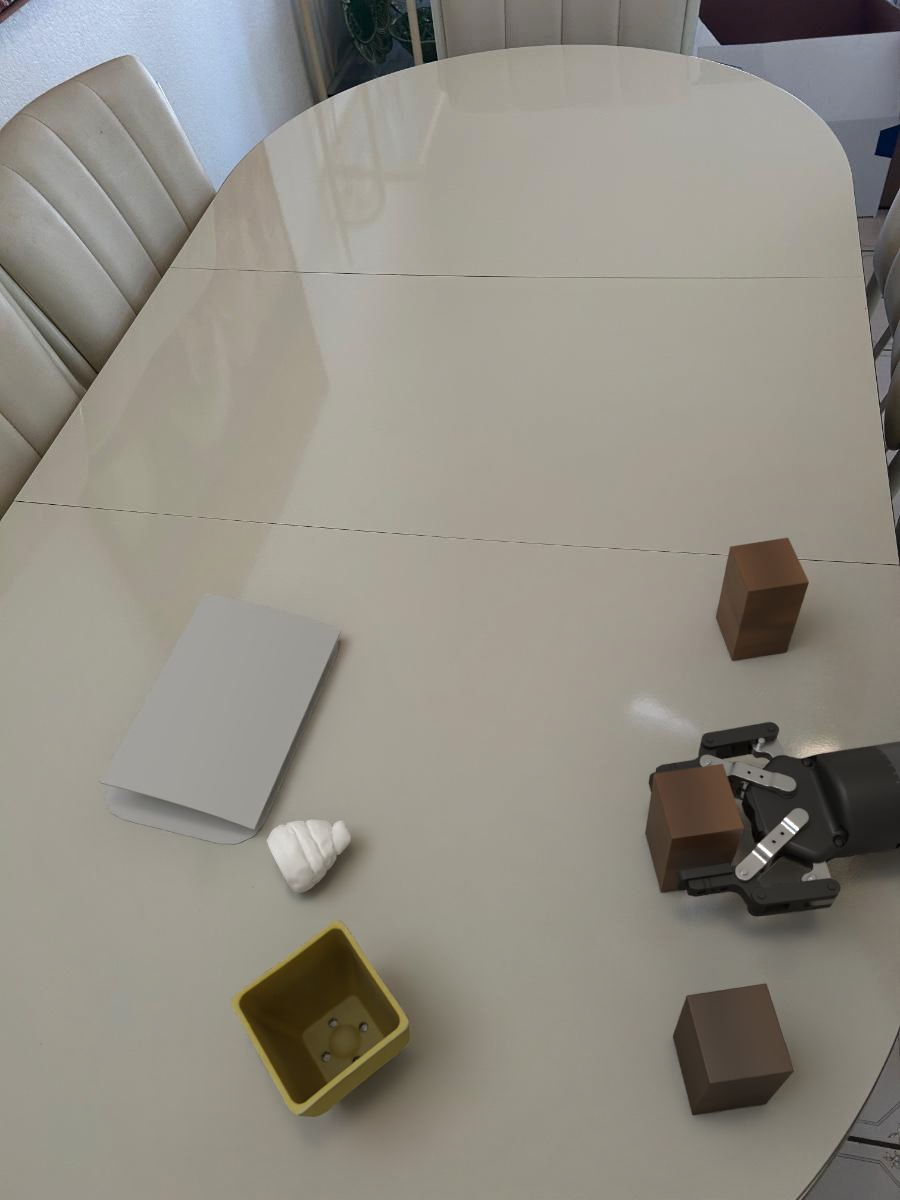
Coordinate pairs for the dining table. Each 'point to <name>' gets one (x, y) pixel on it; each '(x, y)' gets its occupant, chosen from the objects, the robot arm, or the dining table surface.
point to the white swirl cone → (307, 850)
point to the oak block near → (731, 1049)
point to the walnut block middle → (691, 822)
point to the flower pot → (322, 1021)
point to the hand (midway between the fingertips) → (663, 830)
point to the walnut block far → (760, 598)
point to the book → (221, 721)
